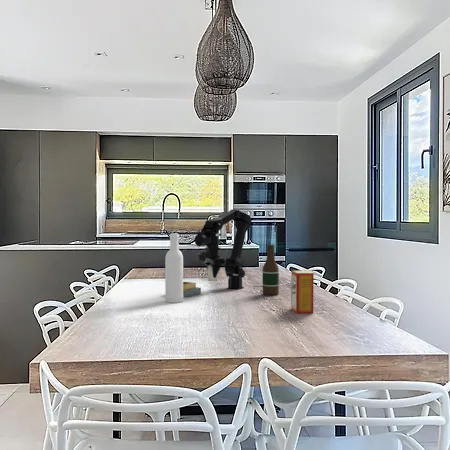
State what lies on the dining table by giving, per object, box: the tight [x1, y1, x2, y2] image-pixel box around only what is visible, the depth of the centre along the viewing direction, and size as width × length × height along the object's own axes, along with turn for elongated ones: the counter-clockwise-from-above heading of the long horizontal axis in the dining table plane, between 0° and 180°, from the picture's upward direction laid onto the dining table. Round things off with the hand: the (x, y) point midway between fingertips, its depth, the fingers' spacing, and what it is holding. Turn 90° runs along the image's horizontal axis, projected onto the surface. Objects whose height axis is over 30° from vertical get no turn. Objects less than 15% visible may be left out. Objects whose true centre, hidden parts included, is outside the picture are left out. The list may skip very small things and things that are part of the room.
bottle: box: [164, 232, 184, 304], centre depth 214 cm, size 8×8×30 cm
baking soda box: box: [290, 269, 314, 314], centre depth 193 cm, size 10×6×16 cm
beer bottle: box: [262, 244, 280, 297], centre depth 233 cm, size 8×8×24 cm
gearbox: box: [183, 281, 202, 298], centre depth 233 cm, size 14×12×6 cm
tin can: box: [207, 265, 218, 282], centre depth 238 cm, size 5×5×7 cm
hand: (212, 277), depth 238 cm, fingers closed on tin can, 4 cm apart
